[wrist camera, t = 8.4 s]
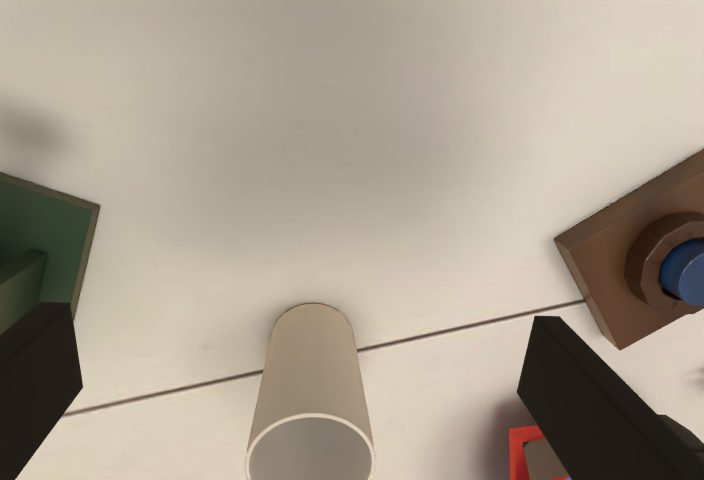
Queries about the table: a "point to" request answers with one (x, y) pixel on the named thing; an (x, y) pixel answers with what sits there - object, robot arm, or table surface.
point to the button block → (637, 253)
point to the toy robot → (533, 456)
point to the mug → (311, 403)
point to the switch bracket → (41, 247)
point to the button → (685, 272)
